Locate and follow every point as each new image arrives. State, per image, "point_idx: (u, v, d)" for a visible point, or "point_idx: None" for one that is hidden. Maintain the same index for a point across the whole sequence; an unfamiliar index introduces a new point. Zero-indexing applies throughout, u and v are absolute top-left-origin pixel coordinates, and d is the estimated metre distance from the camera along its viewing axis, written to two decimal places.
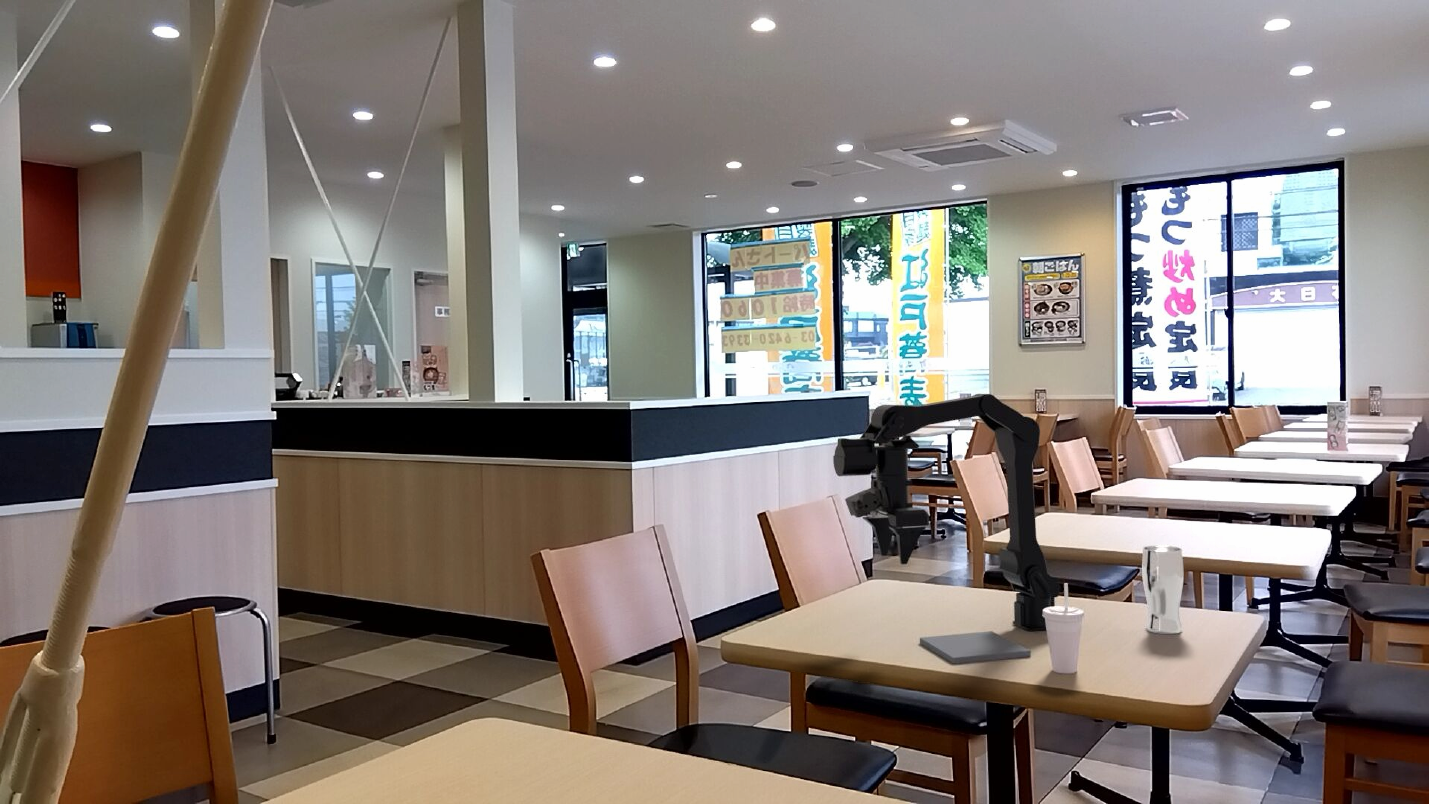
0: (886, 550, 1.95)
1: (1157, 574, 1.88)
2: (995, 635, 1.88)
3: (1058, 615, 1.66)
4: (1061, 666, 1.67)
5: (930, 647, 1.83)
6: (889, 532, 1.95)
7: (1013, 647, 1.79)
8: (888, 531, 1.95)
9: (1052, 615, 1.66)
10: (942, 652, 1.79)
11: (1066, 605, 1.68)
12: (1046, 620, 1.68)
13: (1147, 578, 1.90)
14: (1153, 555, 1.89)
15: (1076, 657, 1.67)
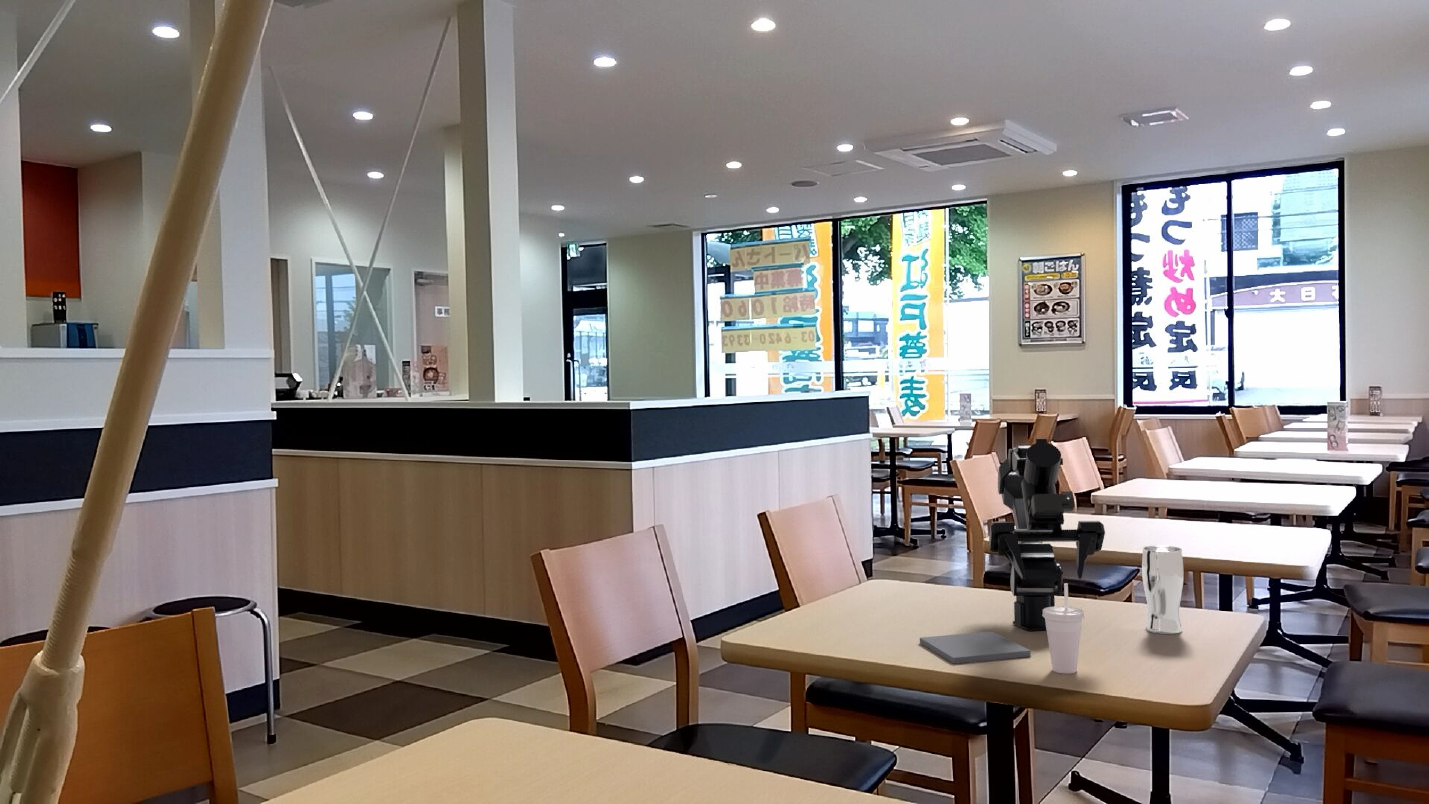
0: None
1: (1157, 574, 1.88)
2: (995, 635, 1.88)
3: (1058, 615, 1.66)
4: (1061, 666, 1.67)
5: (930, 647, 1.83)
6: None
7: (1013, 647, 1.79)
8: None
9: (1052, 615, 1.66)
10: (942, 652, 1.79)
11: (1066, 605, 1.68)
12: (1046, 620, 1.68)
13: (1147, 578, 1.90)
14: (1153, 555, 1.89)
15: (1076, 657, 1.67)
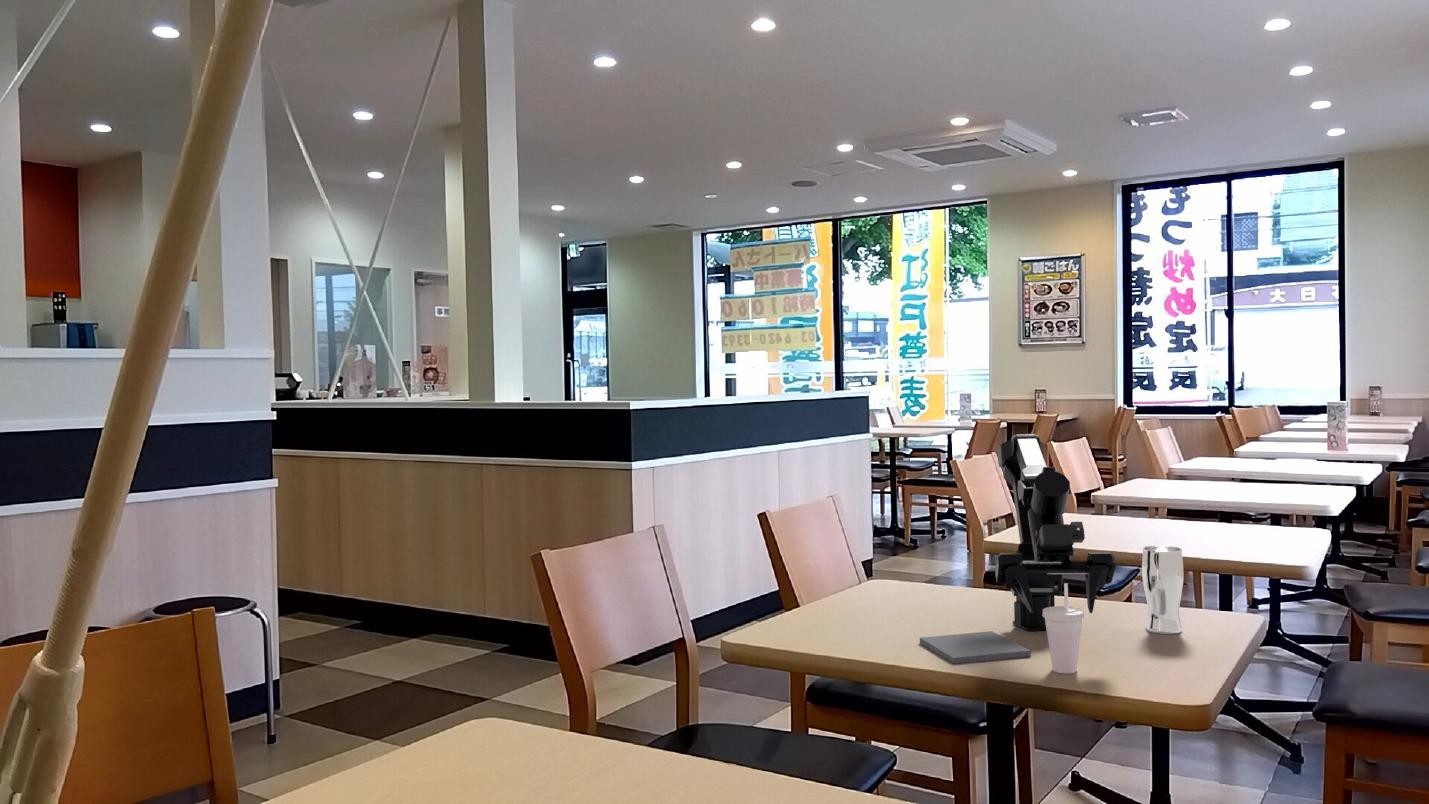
0: None
1: (1157, 574, 1.88)
2: (995, 635, 1.88)
3: (1058, 615, 1.66)
4: (1061, 666, 1.67)
5: (930, 647, 1.83)
6: None
7: (1013, 647, 1.79)
8: None
9: (1052, 615, 1.66)
10: (942, 652, 1.79)
11: (1066, 605, 1.68)
12: (1046, 620, 1.68)
13: (1147, 578, 1.90)
14: (1153, 555, 1.89)
15: (1076, 657, 1.67)
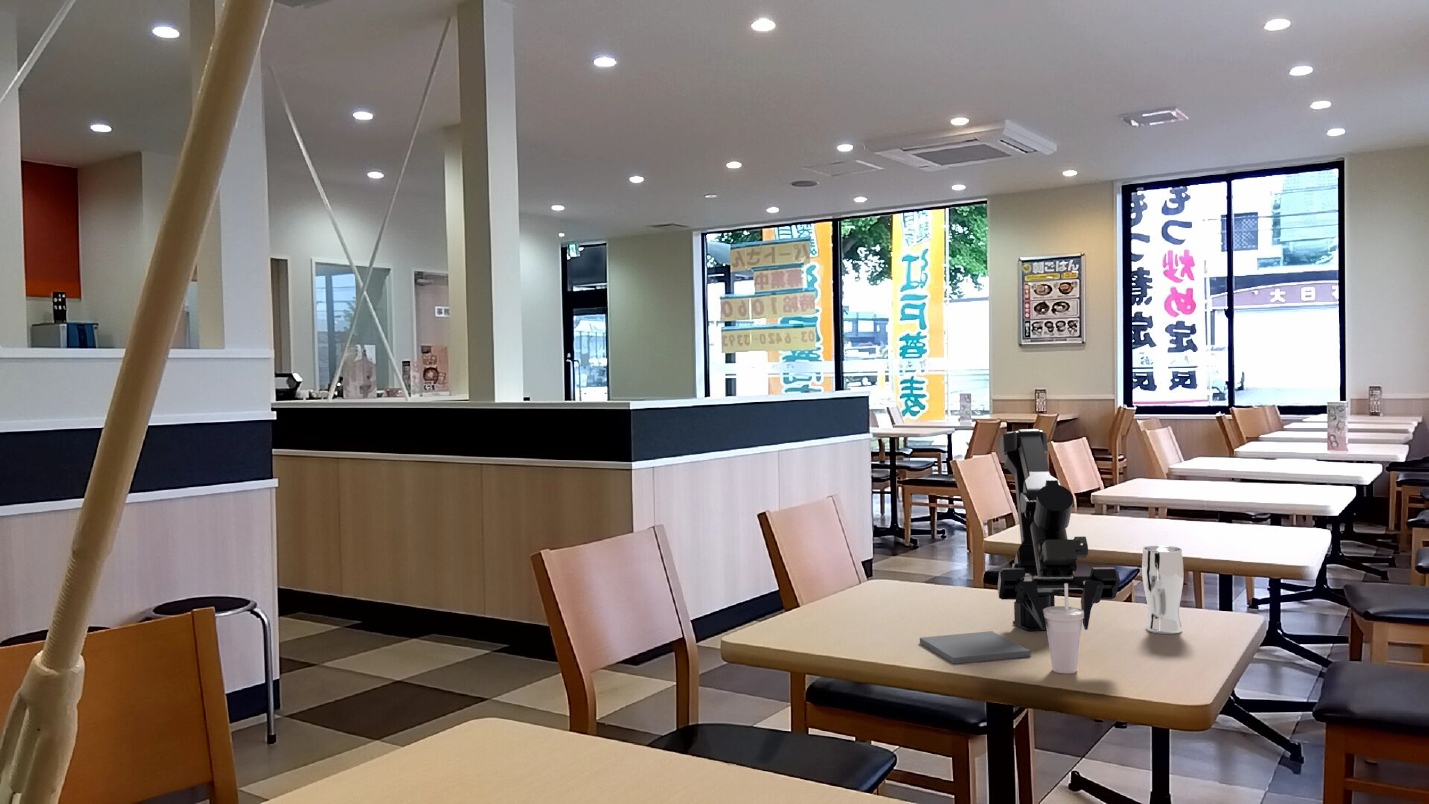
0: None
1: (1157, 574, 1.88)
2: (995, 635, 1.88)
3: (1058, 615, 1.66)
4: (1061, 666, 1.67)
5: (930, 647, 1.83)
6: None
7: (1013, 647, 1.79)
8: None
9: (1052, 615, 1.66)
10: (942, 652, 1.79)
11: (1066, 605, 1.68)
12: (1046, 620, 1.68)
13: (1147, 578, 1.90)
14: (1153, 555, 1.89)
15: (1076, 657, 1.67)
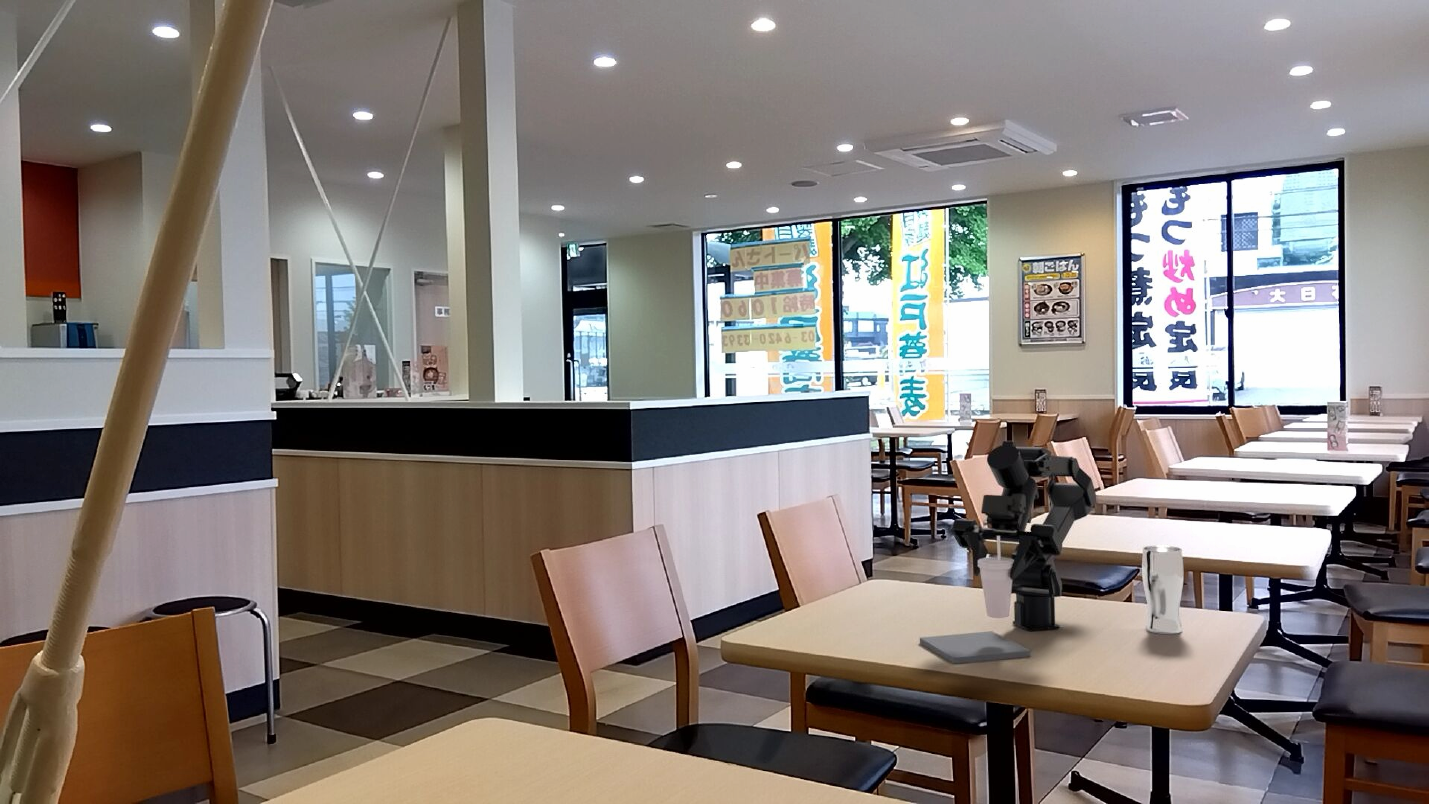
0: (978, 571, 1.84)
1: (1157, 574, 1.88)
2: (995, 635, 1.88)
3: (983, 563, 1.81)
4: (989, 610, 1.82)
5: (930, 647, 1.83)
6: None
7: (1013, 647, 1.79)
8: (982, 557, 1.87)
9: (979, 563, 1.82)
10: (942, 652, 1.79)
11: (998, 556, 1.82)
12: None
13: (1147, 578, 1.90)
14: (1153, 555, 1.89)
15: (1003, 604, 1.81)
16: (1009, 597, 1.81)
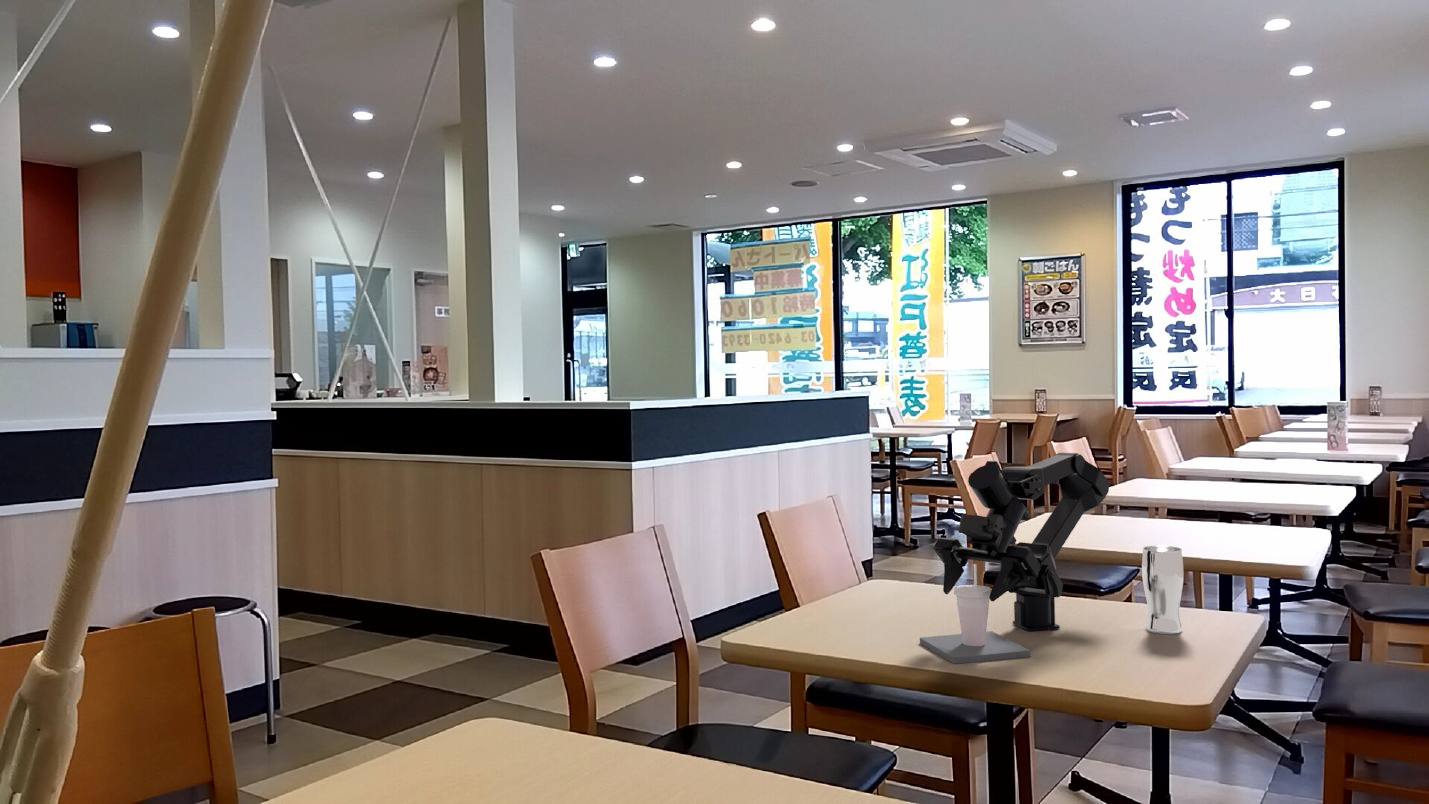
0: (949, 590, 1.85)
1: (1157, 574, 1.88)
2: (995, 635, 1.88)
3: (957, 590, 1.81)
4: (964, 638, 1.82)
5: (930, 647, 1.83)
6: (956, 577, 1.87)
7: (1013, 647, 1.79)
8: (955, 576, 1.88)
9: (955, 590, 1.82)
10: (942, 652, 1.79)
11: (974, 584, 1.82)
12: None
13: (1147, 578, 1.90)
14: (1153, 555, 1.89)
15: (977, 632, 1.80)
16: (984, 626, 1.81)
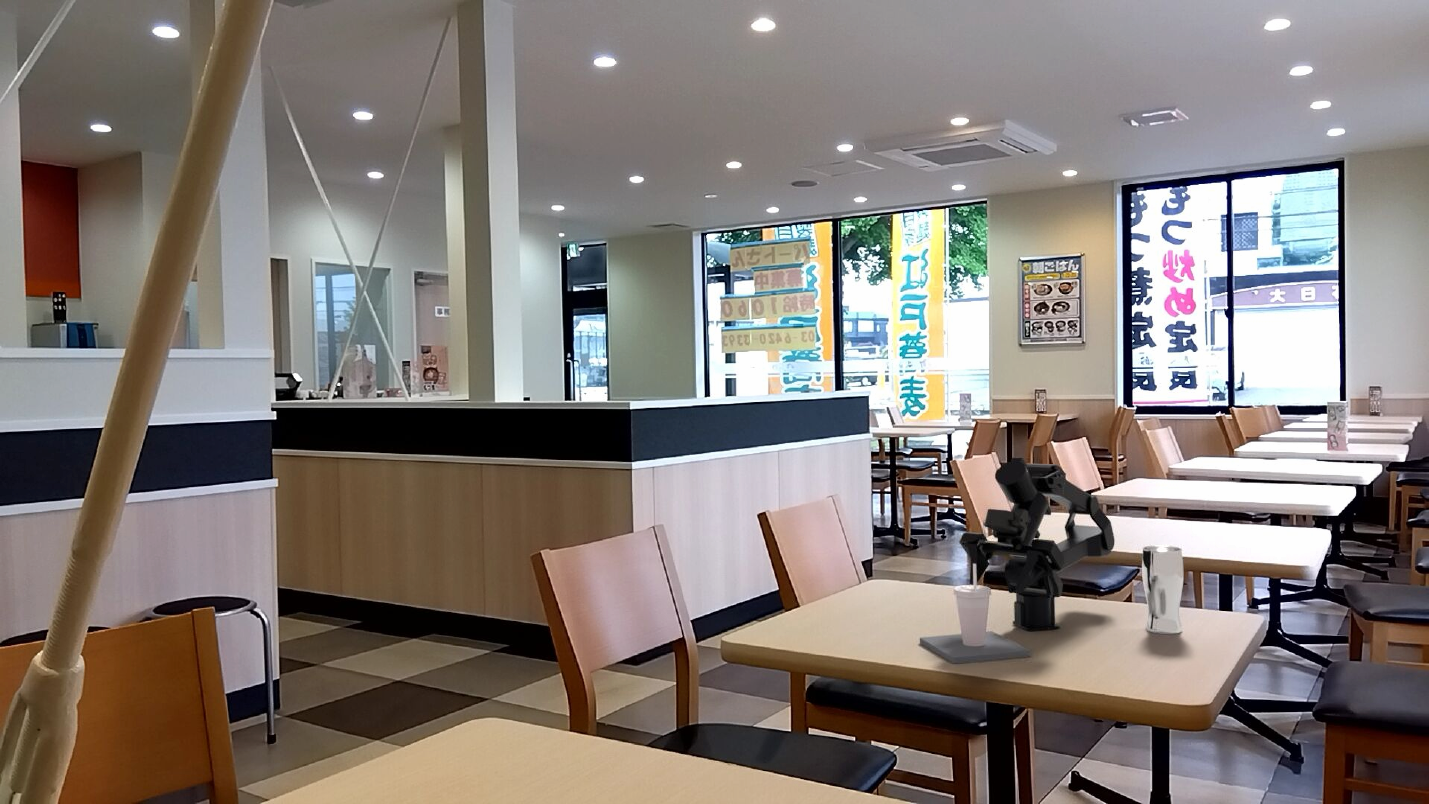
0: None
1: (1157, 574, 1.88)
2: (995, 635, 1.88)
3: (957, 591, 1.81)
4: (963, 638, 1.82)
5: (930, 647, 1.83)
6: (982, 570, 1.93)
7: (1013, 647, 1.79)
8: (981, 569, 1.93)
9: (954, 590, 1.82)
10: (942, 652, 1.79)
11: (974, 584, 1.82)
12: None
13: (1147, 578, 1.90)
14: (1153, 555, 1.89)
15: (977, 632, 1.80)
16: (984, 626, 1.81)
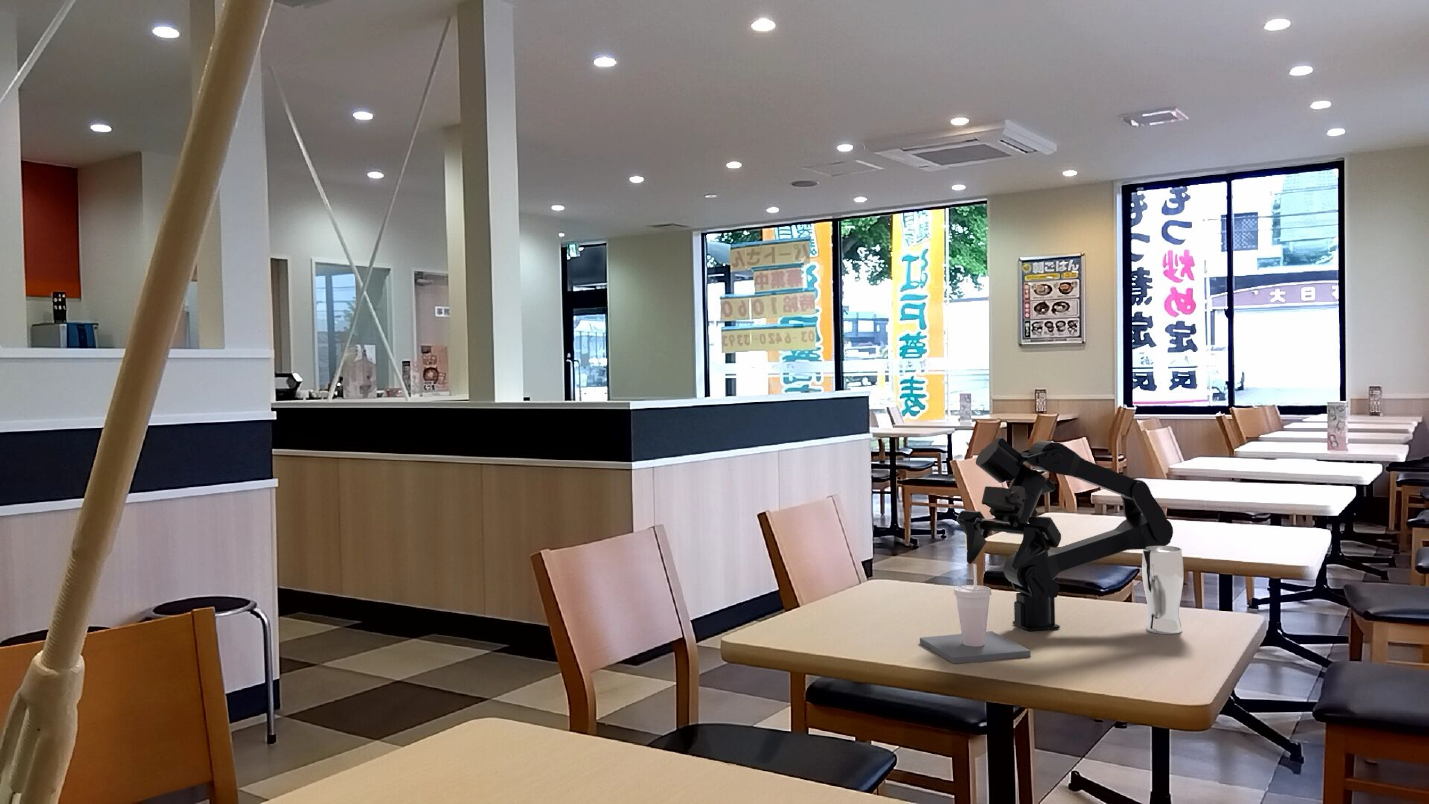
0: (972, 559, 1.91)
1: (1157, 574, 1.88)
2: (995, 635, 1.88)
3: (957, 591, 1.81)
4: (963, 638, 1.82)
5: (930, 647, 1.83)
6: (979, 548, 1.94)
7: (1013, 647, 1.79)
8: (978, 547, 1.94)
9: (955, 590, 1.82)
10: (942, 652, 1.79)
11: (974, 584, 1.82)
12: None
13: (1147, 578, 1.90)
14: (1153, 555, 1.89)
15: (977, 632, 1.80)
16: (984, 626, 1.81)
